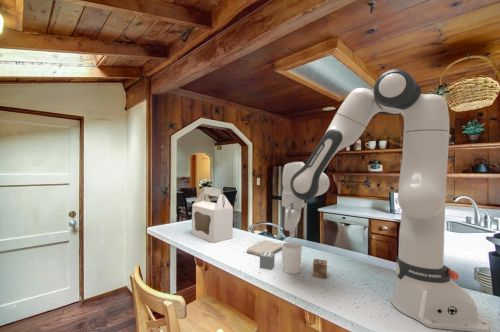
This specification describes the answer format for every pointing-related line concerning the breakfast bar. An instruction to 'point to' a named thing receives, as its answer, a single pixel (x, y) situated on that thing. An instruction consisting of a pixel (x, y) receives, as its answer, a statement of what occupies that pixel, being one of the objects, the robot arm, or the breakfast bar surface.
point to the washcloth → (264, 248)
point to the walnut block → (320, 268)
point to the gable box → (212, 216)
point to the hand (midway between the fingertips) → (292, 236)
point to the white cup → (291, 257)
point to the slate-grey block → (267, 260)
